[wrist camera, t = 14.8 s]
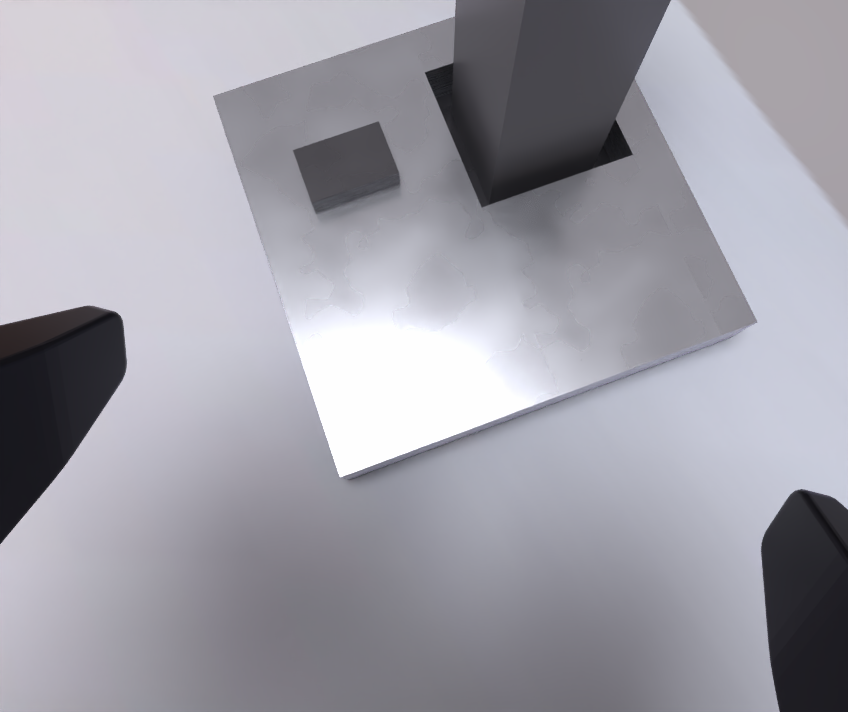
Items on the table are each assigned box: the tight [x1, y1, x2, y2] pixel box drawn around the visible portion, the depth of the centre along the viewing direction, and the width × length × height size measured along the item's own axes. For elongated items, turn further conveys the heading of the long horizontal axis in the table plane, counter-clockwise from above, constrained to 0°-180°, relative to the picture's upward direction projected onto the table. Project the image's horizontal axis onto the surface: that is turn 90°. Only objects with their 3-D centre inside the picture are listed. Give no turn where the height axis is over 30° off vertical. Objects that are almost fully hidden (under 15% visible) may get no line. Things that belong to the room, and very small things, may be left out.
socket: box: [213, 17, 757, 480], centre depth 22 cm, size 14×14×3 cm
